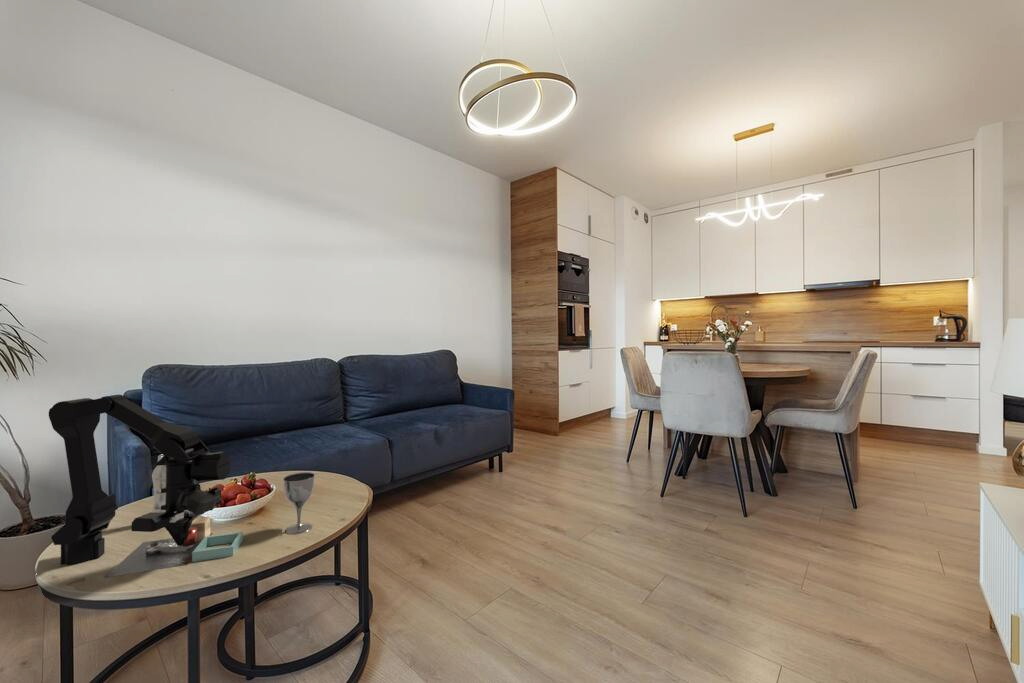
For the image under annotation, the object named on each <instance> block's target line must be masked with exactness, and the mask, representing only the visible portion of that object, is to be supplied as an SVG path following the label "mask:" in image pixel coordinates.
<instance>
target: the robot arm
mask: <svg viewBox="0 0 1024 683" xmlns="http://www.w3.org/2000/svg"><path fill="white" fill-rule="evenodd" d="M101 414H106V415H108V416H110V417H112V418H113V419H115V420H117V421H119V423H122V424H124V425H125V426H127V427H129V428H131V429H132V430H134V431H136V432H138V433H139V434H141V435H143V436H144V437H146V438H148V439H149V440H150V441H151V444H152V447H153V448H154V449H155V450H157V451H158V452H159V453H161V455H162V454H163V455H164V456H163V458H162V459H161V460H159V461H158V460H157V461H156V462H155V466H156V467H157V466H160V465H166V487H165V488H162V489H161V493H165V504H164V505H162V506H161V510H166V512H163V513H153V512H152V511H150V512H148V513H146V514H142V515H140V516H138V517H135V518H134V519H133V520H132V521H131V532H138V533H139V532H141V533H142V532H144V533H147V532H148V533H151V532H157V531H159V530H161V529H163V528H164V529H165V530H166V531H167V532H168V534H169V535H170V537H171V539H172V538H173V539H174V541H175V542H176V544H177V545H178V546H182V545H183V543H184V540H185V538H186V535H187V533H188V530H189V528H190V526H191V523H192V521H193V520H194V519H195V518H199V516H201V515H204V514H206V513H207V512H209V511H213V510H215V507H216V506H218V505H221V504H222V489H221V487H219V486H214V487H212V488H210V489H207V490H202V489H201V484H200V482H203V481H204V482H205V481H223V480H225V479H226V478H228V476H229V474H230V471H231V467H232V465H231V463H232V462H231V461H230V459H229V457H228V456H226V452H225V451H216V452H211V451H210V449H209V448H208V447H207V446H206V444H205V443H204V442H203V440H201V439H200V437H199V436H200V435H199V433H198V431H196V430H195V429H192V428H189V427H186V426H184V425H182V424H181V425H180V424H176V423H175V424H174V423H170V422H168V421H166V420H164V419H162V418H161V417H159V416H157V415H155V414H153V413H152V412H150V411H148V410H147V409H145V408H143V407H142V406H139V405H138V404H137V403H135V402H134V401H131V400H129V398H128V397H127V396H125V395H124V394H113V395H112V394H111V395H105V396H102V397H100V398H95V399H93V398H90V397H86V398H85V397H84V398H78V399H72V400H71V399H70V400H63V401H62V400H61V401H58V402H56V403H55V404H53V406H52V407H51V408H49V410H48V418H49V422H50V424H51V427H52V429H53V430H54V432H56V433H57V434H58V435H59V436H60V437H62V438H63V440H64V449H65V454H66V462H67V468H68V475H69V482H70V486H71V488H70V489H71V496H72V499H71V500H70V503H69V505H68V506H67V508H66V510H65V518H64V524H63V525H62V526H61V527H60V528H59V529H58V530H57V531H56V532H55V533H53V535H51V538H50V539H51V541H52V542H53V545H54V546H60V565H66V566H74V565H80V564H83V563H86V562H89V561H93V560H94V561H95V560H98V559H99V558H101V557H102V556H103V555H104V554H105V544H106V543H105V537H103V530H106V529H108V528H109V525H110V524H111V521H112V520H113V519H114V518H115V516H116V511H117V510H118V509H119V508H118V506H117V503H116V496H115V495H116V494H113V493H112V494H110V495H109V494H107V493H106V492H105V491H104V490H103V489H102V484H101V482H102V481H101V476H100V469H99V463H98V456H97V455H98V454H97V449H96V441H95V436H94V435H95V431H96V429H97V427H98V425H99V423H100V421H101ZM196 481H197V482H196ZM174 512H175V513H174Z"/></svg>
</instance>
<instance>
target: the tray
mask: <svg viewBox="0 0 1024 683" xmlns="http://www.w3.org/2000/svg"><path fill="white" fill-rule="evenodd" d="M243 540H244V532H243V531H238V532H231V533H223V534H217V535H215V534H214V535H211V536H207V537H205V538H204V539H203V540H202V541H201V542H200V544H199V545H198V546H197V547H196V549H195V550H194V551H193V552H192V560H191V563H194V562H200V561H207V560H213V559H221V558H227V557H233V556H234V555H235V554H236V552H237V550H238V549H239V547H240V545H241V544H242V542H243ZM224 544H225V545H226V544H231V545H227V546H219V545H224ZM211 546H212V548H207V547H211ZM213 546H219V547H213Z"/></svg>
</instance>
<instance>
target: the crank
mask: <svg viewBox="0 0 1024 683" xmlns="http://www.w3.org/2000/svg"><path fill="white" fill-rule="evenodd" d="M196 543H197V528H196V527H191V528H189V530H188V533H187V535H186V538H185V540H184V543H183V545H182V546H178V545H177V544H176V543H164V544H163V543H161V542H153V543H151V544H150V545H148V546H146V554H154V553H157V552H160V551H161V550H175V549H189V548H190V547H192V546H193V545H194V544H196Z"/></svg>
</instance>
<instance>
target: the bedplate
mask: <svg viewBox="0 0 1024 683" xmlns="http://www.w3.org/2000/svg"><path fill="white" fill-rule="evenodd" d="M213 534H214V533H213V532H212V533H211V532H210V536H213ZM153 542H161V543H163V544H164V543H176V542H175V541H174V539H173V538H172V537H171V538H165V539H159V540H158V539H157V540H151V541H150V540H149V541H144V542H142V543H141V544H140V545H139V546H137V547H136V548H135V549H134V550H133V551H132V552H131V553H130V554H128V555H127V556H126V557H125V558H124V559H123V560H121V562H119V563H118V565H116V566H115V567H114V568H113V569H111V571H110V572H109V573H107V574H106V575H105V576H104V578H111V577H116V576H118V577H119V576H124V575H131V574H132V575H133V574H137V573H142V572H143V573H144V572H145V573H146V572H150V571H157V570H164V569H170V568H176V567H182V566H183V567H185V566H188V565H189V564H190V562H192V552H193V551H194V550H195V549H196V547H197V546H198V545H199V544H200V542H199V543H196V544H194V545H193V546H192V547H190V548H189V549H175V550H161V551H160V552H157V553H154V554H146V546H148V545H150V544H151V543H153Z"/></svg>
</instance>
